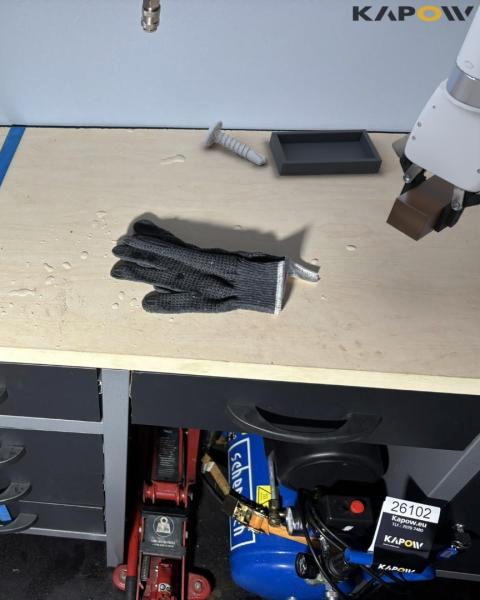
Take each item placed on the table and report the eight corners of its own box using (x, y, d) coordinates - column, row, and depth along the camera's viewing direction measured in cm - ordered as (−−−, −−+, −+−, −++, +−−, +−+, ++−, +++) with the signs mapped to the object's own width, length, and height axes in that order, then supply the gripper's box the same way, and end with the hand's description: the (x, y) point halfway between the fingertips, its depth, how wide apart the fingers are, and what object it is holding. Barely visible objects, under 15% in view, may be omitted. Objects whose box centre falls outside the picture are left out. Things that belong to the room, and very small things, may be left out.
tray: (361, 141, 110) (365, 129, 108) (377, 173, 103) (382, 160, 101) (269, 143, 110) (271, 131, 109) (279, 175, 104) (282, 163, 102)
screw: (203, 147, 112) (218, 123, 111) (257, 178, 109) (273, 154, 108) (199, 139, 107) (215, 114, 107) (255, 171, 104) (272, 146, 103)
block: (430, 194, 80) (441, 170, 77) (461, 212, 77) (474, 187, 74) (385, 222, 77) (396, 197, 74) (416, 241, 74) (428, 216, 71)
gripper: (591, 104, 60) (505, 239, 73) (438, 44, 69) (386, 173, 83) (548, 131, 57) (467, 266, 71) (395, 64, 67) (350, 194, 81)
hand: (424, 215), depth 77 cm, fingers closed on block, 4 cm apart
